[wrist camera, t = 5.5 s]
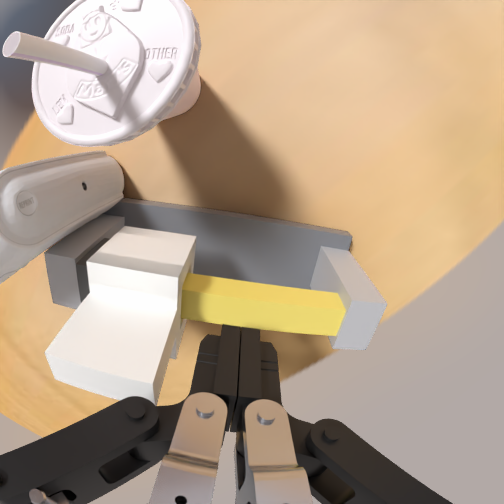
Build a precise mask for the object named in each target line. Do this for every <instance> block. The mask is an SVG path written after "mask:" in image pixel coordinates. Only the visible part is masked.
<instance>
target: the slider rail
mask: <svg viewBox="0 0 504 504" xmlns="http://www.w3.org/2000/svg"><path fill="white" fill-rule="evenodd" d="M124 226H129V227H136V228H143V229H150V230H157V231H164V232H171V233H178V234H185V235H192V236H197V237H196V247H195V258H194V269H193V273H187V275H186V278H185V280H184V283H183V286H182V299H181V318H183V319H189V320H196V321H202V322H209V323H215V324H222V325H223V324H227V325H234V326H240V327H249V328H256V329H262V330H271V331H281V332H291V333H302V334H314V335H328V338H329V340H330V343H331V346H332V349H352V350H366V348H367V346H368V344H369V342H370V340H371V338H372V336H373V334H374V332H375V330H376V328H377V326H378V324H379V322H380V319H381V317H382V315H383V313H384V310H385V308H386V306H387V302H386V301H385V300H384V298H383V297H382V295H381V294H380V293H379V291H378V290H377V288H376V287H375V286H374V284H373V283H372V281H371V280H370V279H369V277H368V276H367V275H366V273H365V272H364V270H363V269H362V268H361V266H360V265H359V264H358V262H357V261H356V260H355V258H354V257H353V256H352V255H351V253H350V252H349V251H348V250H349V247H350V244H351V240H352V236H351V235H350V233H349V232H347V231H342V230H336V229H331V228H325V227H320V226H314V225H309V224H303V223H297V222H291V221H285V220H279V219H273V218H267V217H261V216H254V215H248V214H241V213H235V212H228V211H221V210H215V209H208V208H200V207H193V206H186V205H178V204H171V203H163V202H155V201H147V200H138V199H130V198H122V199H121V200H120V201H119V202H118V203H117V204H115V205H114V206H113V207H112V208H110V209H109V210H107V211H106V212H104V213H103V214H101V215H100V216H98V217H97V218H95V219H93V220H91V221H89V222H88V223H86V224H84V225H83V226H81V227H80V228H78V229H76V230H75V231H73V232H72V233H70V234H69V235H67V236H66V237H64V238H63V239H62V240H60V241H59V242H58V243H56V244H55V245H54V246H52V247H51V248H50V249H48V250H47V251H46V252H44V254H45V261H46V268H47V274H48V279H49V285H50V290H51V295H52V299H53V303H55V304H58V305H62V306H66V307H69V308H73V309H77V308H78V307H79V305H80V304H81V303H82V302H83V300H84V299H85V298H86V297H87V295H88V294H89V293H90V289H89V281H88V272H87V262H86V261H87V260H88V259H89V258H90V257H91V256H92V255H94V254H95V253H96V252H97V251H98V250H99V249H100V248H101V247H102V246H103V245H104V244H105V243H106V242H107V241H109V240H110V239H111V238H112V237H113V236H114V235H115V234H116V233H117V232H119V231H120V230H121V229H122V228H123V227H124Z"/></svg>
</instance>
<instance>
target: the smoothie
mask: <svg viewBox="0 0 504 504" xmlns="http://www.w3.org/2000/svg"><path fill="white" fill-rule="evenodd" d="M200 50H201V40H200V31H199V24H198V22H197V20H196V18H195V16H194V14H193V12H192V10H191V8H190V7H189V6H188V5H187V4H186V3H185V1H184V0H76V1H75V2H74V3H73V4H71V5H70V6H69V7H68V8H67V9H66V10H65V11H64V12H63V13H62V14H61V15H60V16H59V18H58V19H57V20H56V21H55V23H54V24H53V25H52V26H51V28H50V29H49V31H48V33H47V34H46V36H45V37H44V39H43V38H39V37H36V36H32V35H28V34H25V33H21V32H14V33H12V34H11V35H10V36H9V37H8V38H7V40H6V42H5V44H4V46H3V55H4V56H5V57H11V58H17V59H24V60H30V61H35V63H34V67H33V75H32V95H33V101H34V105H35V108H36V111H37V114H38V116H39V118H40V120H41V121H42V123H43V124H44V126H45V127H46V128H47V129H48V130H49V131H50V132H51V133H52V134H53V135H54V136H56V137H57V138H59V139H60V140H62V141H64V142H67V143H69V144H73V145H77V146H85V147H93V146H112V145H115V144H119V143H122V142H126V141H130V140H133V139H134V138H136V137H138V136H140V135H141V134H143V133H145V132H147V131H149V130H150V129H152V128H154V127H155V126H156V125H157V124H158V123H159V122H160V121H162V120H165V119H168V118H171V117H174V116H177V115H180V114H183V113H185V112H186V111H188V110H189V109H190V108H191V107H192V106H193V105H194V104H195V103H196V101H197V99H198V97H199V95H200V91H201V82H200V77H199V72H198V61H199V55H200Z"/></svg>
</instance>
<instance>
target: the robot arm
mask: <svg viewBox="0 0 504 504" xmlns="http://www.w3.org/2000/svg"><path fill="white" fill-rule="evenodd" d="M230 423H231V424H230ZM229 427H230V432H236V444H235V448H234V460H235V479H236V499H235V504H313V501H312V496H314V497H315V498H316V499H317V500H318V501H319V502H320V503H322V504H452V503H451V502H449V501H448V500H446V499H445V498H443V497H442V496H440V495H439V494H437V493H436V492H434V491H432V490H431V489H430V488H428V487H427V486H425V485H424V484H422V483H421V482H419V481H418V480H417V479H415V478H414V477H412V476H411V475H409V474H408V473H407V472H405V471H404V470H402V469H401V468H400V467H398V466H397V465H396V464H394V463H393V462H392V461H390V460H389V459H388V458H386V457H385V456H384V455H382V454H381V453H380V452H378V451H377V450H376V449H374V448H373V447H372V446H370V445H369V444H368V443H367V442H365V441H364V440H363V439H362V438H360V437H359V436H358V435H357V434H355V433H354V432H353V431H352V430H350V429H349V428H348V427H347V426H346V425H344V424H343V423H342V422H340V421H337V420H334V419H322V420H320V421H318V422H316V423H315V424H311V423H308V422H305V421H301V420H298V419H296V418H294V417H292V416H290V415H289V414H288V413H287V412H286V410H285V409H284V408H283V406H282V403H281V392H280V381H279V372H278V359H277V352H276V350H275V348H274V347H273V345H272V344H271V343H268V342H260V329H256V328H249V327H241V330H240V326H234V325H227V324H223V325H222V332H221V336H215V335H209V334H208V335H207V336H206V337H205V338H204V339H203V340H202V341H201V342H200V347H199V352H198V356H197V362H196V366H195V370H194V375H193V380H192V385H191V390H190V393H189V395H188V396H187V398H186V399H184V400H183V401H182V402H180V403H178V404H175V405H169V406H155V405H154V404H153V403H152V402H151V401H150V400H148V399H146V398H144V397H139V396H131V397H127V398H124V399H122V400H120V401H118V402H116V403H115V404H113V405H111V406H109V407H107V408H105V409H103V410H101V411H99V412H97V413H95V414H93V415H91V416H89V417H87V418H85V419H83V420H81V421H79V422H76V423H74V424H72V425H70V426H68V427H66V428H64V429H61V430H59V431H57V432H55V433H53V434H50V435H48V436H46V437H44V438H41V439H39V440H37V441H35V442H32V443H30V444H27V445H25V446H23V447H20V448H18V449H15V450H13V451H10V452H8V453H5V454H3V455H0V504H87V503H89V502H91V501H93V500H95V499H97V498H99V497H101V496H103V495H105V494H107V493H108V492H110V491H112V490H113V489H116V488H117V487H119V486H121V485H123V484H124V483H126V482H128V481H129V480H131V479H133V478H134V477H136V476H138V475H139V474H141V473H142V472H144V471H146V470H147V469H149V468H150V467H152V466H153V465H155V464H157V463H158V462H159V461H160V460H162V462H161V466H160V469H159V472H158V475H157V478H156V482H155V485H154V488H153V492H152V495H151V498H150V502H149V504H211V502H212V497H213V491H214V486H215V480H216V474H217V469H218V462H219V456H220V451H221V447H222V445H223V441H224V436H225V431H229ZM311 495H312V496H311Z"/></svg>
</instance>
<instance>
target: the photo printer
mask: <svg viewBox="0 0 504 504" xmlns="http://www.w3.org/2000/svg"><path fill="white" fill-rule="evenodd" d="M123 189H124V176H123V172H122V169H121V167H120V166H119V164H118V162H117V161H116V160H115V159H113V158H112V157H111V156H107V154H106V152H105V151H92V152H84V153H77V154H71V155H65V156H59V157H54V158H48V159H43V160H39V161H34V162H29V163H25V164H21V165H17V166H13V167H9V168H6V169H4V170H2V171H0V284H1V283H2V282H4V281H5V280H6V279H8V278H9V277H10V276H12V275H13V274H14V273H16V272H17V271H18V270H19V269H21V268H23V267H25V266H26V265H27V264H28V263H29V262H30V261H31V260H33V259H34V258H35V257H37V256H38V255H39V254H41V253H42V252H44V251H45V250H46V249H48V248H49V247H51V246H52V245H54V244H55V243H57V242H58V241H60V240H61V239H63V238H64V237H66V236H67V235H69V234H70V233H72V232H73V231H75V230H76V229H78V228H80V227H81V226H83V225H84V224H86V223H88V222H89V221H91V220H93V219H95V218H97V217H98V216H100V215H101V214H103V213H104V212H106V211H107V210H109V209H110V208H112V207H113V206H114V205H115V204H117V203H118V202H119V201H120V200H121V199H122V198H123V197H124V196H123V193H122V191H123Z"/></svg>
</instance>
